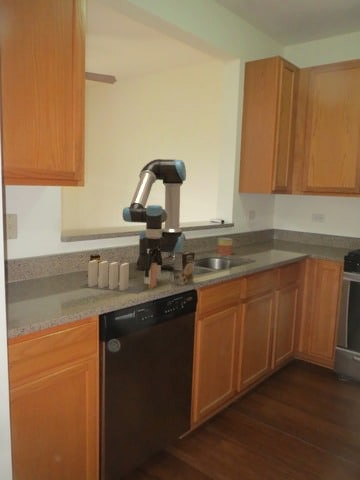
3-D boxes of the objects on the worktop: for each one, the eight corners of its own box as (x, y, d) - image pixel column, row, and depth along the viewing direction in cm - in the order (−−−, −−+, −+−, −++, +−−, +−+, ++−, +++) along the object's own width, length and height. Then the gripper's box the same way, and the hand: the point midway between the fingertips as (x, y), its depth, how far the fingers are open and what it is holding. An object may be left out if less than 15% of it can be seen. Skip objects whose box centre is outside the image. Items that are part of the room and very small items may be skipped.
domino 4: (119, 290, 185) (119, 265, 183) (124, 287, 190) (125, 262, 189) (122, 290, 184) (123, 265, 183) (128, 287, 190) (128, 263, 188)
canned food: (233, 254, 303) (234, 238, 302) (230, 256, 293) (231, 240, 291) (218, 252, 307) (219, 237, 305) (215, 255, 296) (216, 239, 295)
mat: (91, 283, 199) (91, 281, 199) (147, 289, 190) (147, 288, 190) (80, 288, 189) (80, 286, 188) (138, 295, 180) (138, 294, 180)
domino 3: (108, 289, 186) (109, 264, 185) (114, 286, 192) (114, 261, 190) (112, 289, 186) (112, 264, 184) (117, 286, 191) (118, 262, 190)
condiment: (101, 278, 209) (101, 256, 208) (85, 278, 208) (85, 256, 206) (101, 275, 217) (101, 253, 215) (85, 275, 215) (85, 253, 213)
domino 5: (148, 289, 191) (149, 264, 190) (152, 286, 197) (153, 262, 195) (151, 289, 191) (152, 265, 189) (156, 286, 196) (157, 262, 195)
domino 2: (98, 287, 188) (98, 263, 186) (104, 285, 194) (104, 260, 192) (101, 288, 187) (101, 263, 186) (107, 285, 193) (108, 261, 191)
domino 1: (88, 286, 189) (88, 261, 188) (94, 283, 195) (94, 259, 194) (91, 287, 189) (91, 262, 187) (97, 284, 195) (97, 260, 193)
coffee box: (182, 285, 200) (183, 254, 198) (173, 283, 204) (174, 252, 202) (193, 282, 207) (194, 252, 205) (184, 280, 211) (185, 250, 209)
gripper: (151, 240, 177) (150, 287, 180) (169, 235, 201) (168, 276, 204) (136, 239, 180) (135, 285, 182) (155, 234, 203) (154, 274, 206)
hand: (152, 280), depth 193 cm, fingers open, 13 cm apart
